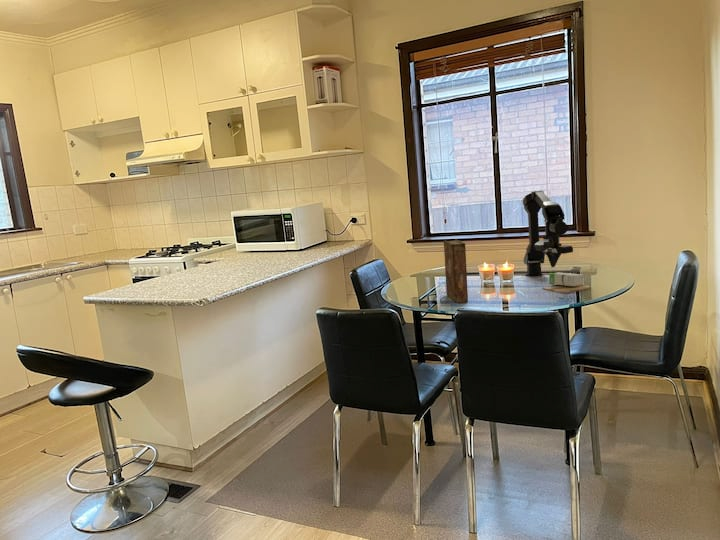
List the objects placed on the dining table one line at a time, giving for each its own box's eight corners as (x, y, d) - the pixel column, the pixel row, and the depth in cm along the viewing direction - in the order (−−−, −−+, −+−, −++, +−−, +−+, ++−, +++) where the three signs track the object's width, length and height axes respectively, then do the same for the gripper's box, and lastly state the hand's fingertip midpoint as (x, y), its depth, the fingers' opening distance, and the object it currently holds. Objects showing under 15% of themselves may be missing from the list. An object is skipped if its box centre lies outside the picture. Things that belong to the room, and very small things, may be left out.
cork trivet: (542, 288, 239) (542, 287, 239) (567, 283, 245) (567, 282, 245) (564, 293, 228) (564, 292, 227) (590, 288, 234) (590, 286, 233)
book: (468, 302, 227) (466, 243, 222) (456, 303, 226) (453, 244, 222) (458, 294, 243) (455, 239, 238) (446, 295, 242) (443, 240, 238)
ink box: (548, 284, 241) (573, 286, 232) (548, 273, 241) (573, 275, 232) (558, 282, 247) (583, 285, 238) (559, 271, 246) (583, 274, 237)
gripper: (523, 233, 244) (524, 267, 247) (554, 236, 227) (554, 272, 230) (542, 230, 249) (543, 263, 251) (573, 233, 232) (574, 268, 235)
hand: (553, 267), depth 242 cm, fingers closed
